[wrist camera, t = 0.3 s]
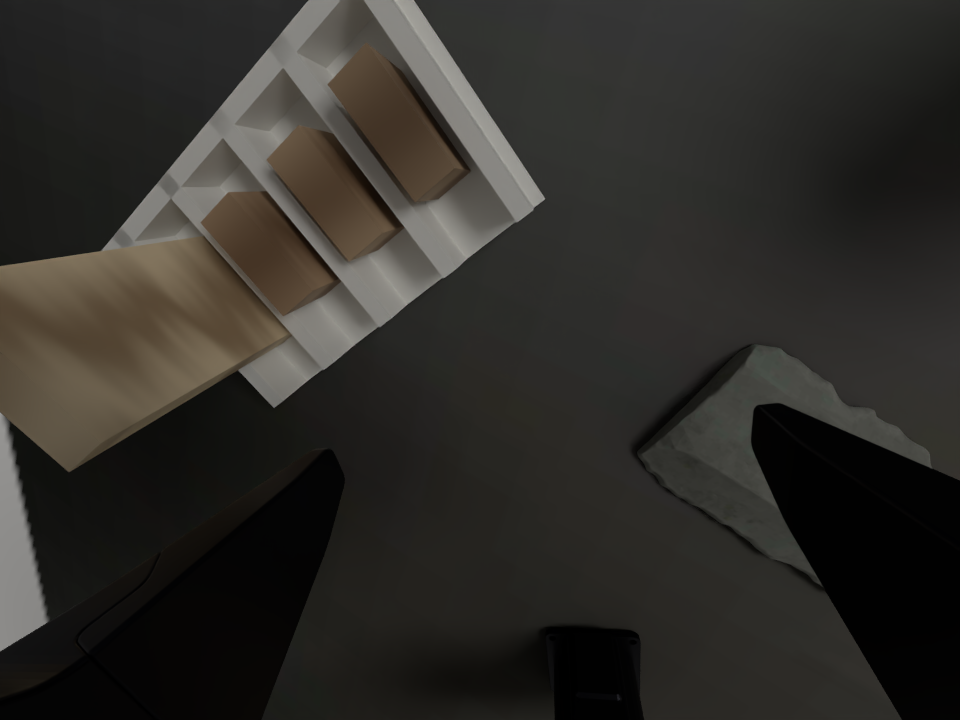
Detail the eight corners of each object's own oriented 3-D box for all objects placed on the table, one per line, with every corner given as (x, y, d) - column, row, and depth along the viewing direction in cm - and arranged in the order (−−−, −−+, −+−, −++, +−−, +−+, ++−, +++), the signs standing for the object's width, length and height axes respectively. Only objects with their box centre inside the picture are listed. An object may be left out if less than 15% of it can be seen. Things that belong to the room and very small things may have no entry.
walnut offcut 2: (471, 171, 20) (454, 168, 16) (438, 199, 20) (414, 202, 17) (401, 70, 18) (366, 42, 15) (368, 103, 19) (327, 84, 15)
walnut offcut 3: (407, 225, 21) (382, 232, 18) (378, 250, 22) (348, 261, 18) (338, 134, 20) (298, 125, 17) (310, 163, 20) (266, 159, 17)
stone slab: (737, 321, 23) (621, 460, 26) (767, 332, 20) (634, 485, 23) (1033, 525, 25) (899, 633, 28) (1095, 559, 23) (940, 675, 25)
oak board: (307, 323, 24) (101, 443, 13) (283, 342, 24) (69, 472, 13) (227, 232, 22) (-80, 278, 11) (205, 255, 23) (-106, 319, 12)
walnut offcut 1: (350, 273, 22) (312, 290, 19) (325, 295, 23) (283, 316, 19) (283, 190, 21) (228, 192, 17) (258, 216, 22) (200, 222, 18)
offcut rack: (545, 198, 20) (545, 201, 17) (288, 395, 27) (255, 421, 24) (396, -27, 18) (366, -70, 15) (152, 248, 24) (95, 257, 21)
